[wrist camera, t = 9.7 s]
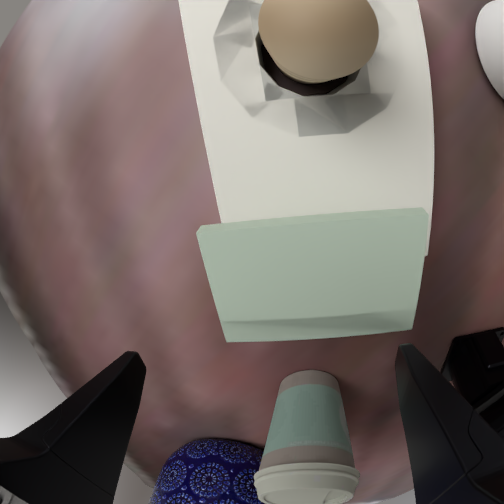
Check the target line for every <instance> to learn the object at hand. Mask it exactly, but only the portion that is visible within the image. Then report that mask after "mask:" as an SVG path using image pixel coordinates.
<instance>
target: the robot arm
mask: <svg viewBox="0 0 504 504" xmlns="http://www.w3.org/2000/svg"><path fill="white" fill-rule="evenodd" d="M503 338H504V327H501V328H497V329H493V330H488V331H484V332H479V333H474V334H469V335H464V336H459V337H456V338H454V339H453V341H452V344H451V347H450V349H449V352H448V355H447V357H446V360H445V363H444V365H443V368H442V370H441V373H440V372H439V371H438V370H437V369H436V368H435V367H434V366H433V365H432V364H431V363H430V362H429V361H428V359H427V358H426V357H425V356H424V355H423V354H422V353H421V352H420V351H419V350H418V349H417V348H416V347H415V346H414V345H413V344H411V343H407V344H401V345H399V347H398V351H397V356H396V360H395V370H396V378H397V387H398V396H399V406H400V412H401V416H402V421H403V426H404V431H405V436H406V441H407V447H408V452H409V458H410V464H411V470H412V476H413V483H414V490H415V498H416V504H504V347H503V345H502V343H501V342H502V340H503ZM145 375H146V366H145V364H144V362H143V361H142V359H141V357H140V355H139V354H138V353H137V352H134V351H127V352H125V353H124V354H123V355H121V356H120V357H119V358H118V359H116V360H115V361H114V362H113V363H111V364H110V365H109V366H108V367H106V368H105V369H104V370H103V371H101V372H100V373H99V374H97V375H96V376H95V377H94V378H92V379H91V380H90V381H89V382H87V383H86V384H85V385H84V386H82V387H81V388H80V389H79V390H77V391H76V392H75V393H74V394H72V395H71V396H70V397H69V398H67V399H66V400H65V401H64V402H62V404H60V405H58V406H57V407H56V408H55V409H53V410H52V411H51V412H49V413H48V414H47V415H46V416H44V417H43V418H41V419H40V420H38V421H37V422H35V423H34V424H32V425H31V426H29V427H27V428H26V429H24V430H23V431H21V432H20V433H19V434H17V435H15V436H12V437H9V438H0V504H113V500H114V495H115V491H116V487H117V483H118V480H119V476H120V472H121V469H122V465H123V461H124V458H125V454H126V450H127V447H128V443H129V440H130V436H131V433H132V430H133V426H134V423H135V419H136V416H137V413H138V409H139V405H140V401H141V396H142V390H143V385H144V380H145ZM449 381H452V382H453V384H454V387H455V388H454V387H453V386H452V384H451V383H450V382H449Z"/></svg>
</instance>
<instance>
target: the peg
mask: <svg viewBox="0 0 504 504" xmlns="http://www.w3.org/2000/svg"><path fill="white" fill-rule="evenodd" d="M258 27H259V33H260V37H261V39H262V42H263V44H264V46H265V47H266V49H267V51H268V52H269V54H270V55H271V57H272V58H273V60H274V62H275V63H276V65H277V66H278V68H279V69H280V71H281V72H282V73H283V74H284V75H286V76H287V77H288V78H290V79H292V80H294V81H296V82H299V83H303V84H318V83H322V82H325V81H329V80H333V79H337V78H341V77H344V76H347V75H350V74H352V73H354V72H356V71H357V70H359V69H360V68H362V67H363V66H364V65H365V64H366V63H367V62H368V61H369V60H370V58H371V57H372V55H373V53H374V52H375V49H376V47H377V44H378V38H379V27H378V22H377V18H376V15H375V13H374V10H373V9H372V7H371V5H370V4H369V2H368V1H367V0H264V1H263V3H262V6H261V8H260V12H259V17H258Z"/></svg>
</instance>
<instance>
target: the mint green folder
mask: <svg viewBox="0 0 504 504" xmlns="http://www.w3.org/2000/svg"><path fill="white" fill-rule="evenodd" d="M428 218H429V214H428V213H427V212H426V211H425V210H424V209H423V208H422V207H420V208H403V209H387V210H372V211H357V212H344V213H330V214H318V215H306V216H294V217H283V218H272V219H261V220H251V221H241V222H231V223H221V224H212V225H202V226H201V227H200V228H199V230H198V231H197V233H196V235H197V239H198V242H199V246H200V250H201V254H202V258H203V261H204V265H205V269H206V272H207V276H208V280H209V283H210V287H211V291H212V294H213V298H214V301H215V305H216V308H217V312H218V315H219V319H220V322H221V325H222V329H223V332H224V335H225V339H226V342H257V341H285V340H305V339H321V338H334V337H346V336H357V335H368V334H377V333H386V332H395V331H403V330H410V329H412V327H413V322H414V317H415V312H416V307H417V302H418V296H419V290H420V284H421V278H422V271H423V264H424V257H425V249H426V240H427V230H428Z"/></svg>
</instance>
